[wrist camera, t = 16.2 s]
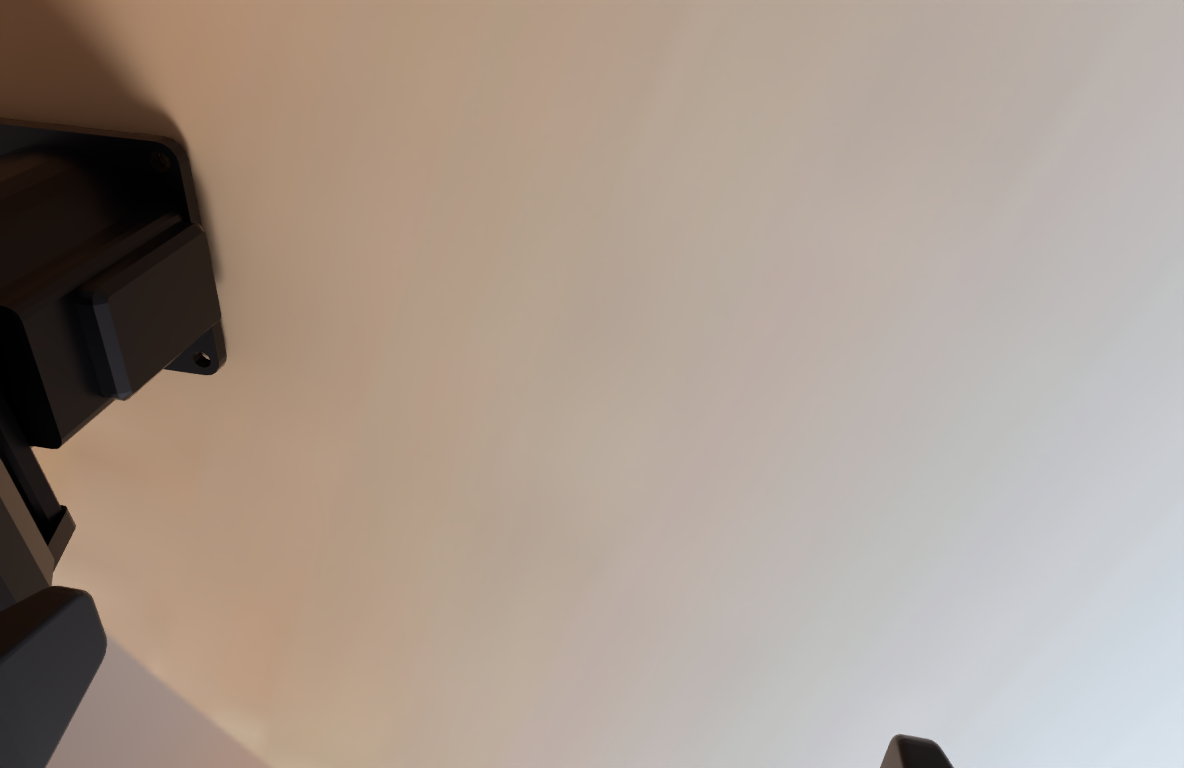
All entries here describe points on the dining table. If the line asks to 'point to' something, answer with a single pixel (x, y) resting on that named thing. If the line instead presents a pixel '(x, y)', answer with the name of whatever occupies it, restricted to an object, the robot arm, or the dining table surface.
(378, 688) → the dining table surface
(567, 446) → the dining table surface
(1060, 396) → the dining table surface
